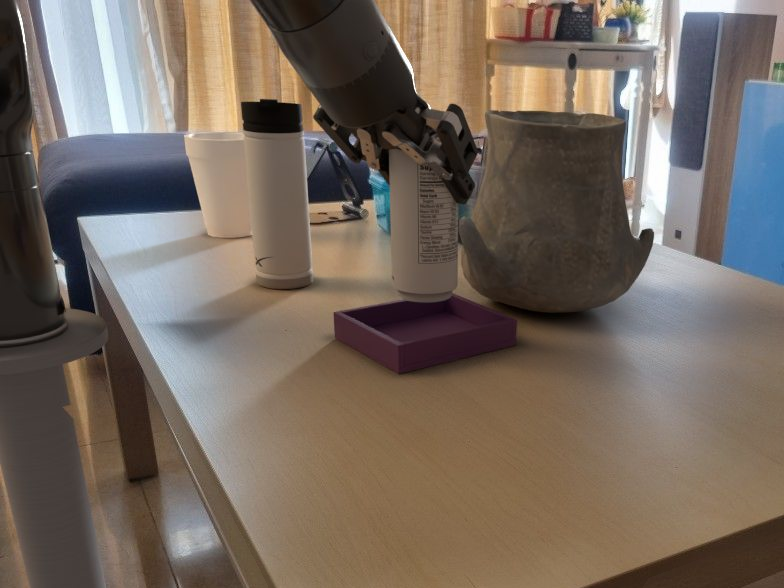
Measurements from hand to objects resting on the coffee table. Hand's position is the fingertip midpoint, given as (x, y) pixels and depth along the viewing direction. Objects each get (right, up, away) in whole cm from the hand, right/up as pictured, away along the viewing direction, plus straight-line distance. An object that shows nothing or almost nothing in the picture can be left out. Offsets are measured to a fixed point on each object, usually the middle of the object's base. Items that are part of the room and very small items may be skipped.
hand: (435, 191), depth 75 cm
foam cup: (-34, +5, +42) cm, 54 cm away
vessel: (+10, -7, +19) cm, 23 cm away
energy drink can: (-1, -9, +2) cm, 10 cm away
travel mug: (-20, -5, +20) cm, 29 cm away
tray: (-1, -13, +4) cm, 14 cm away
